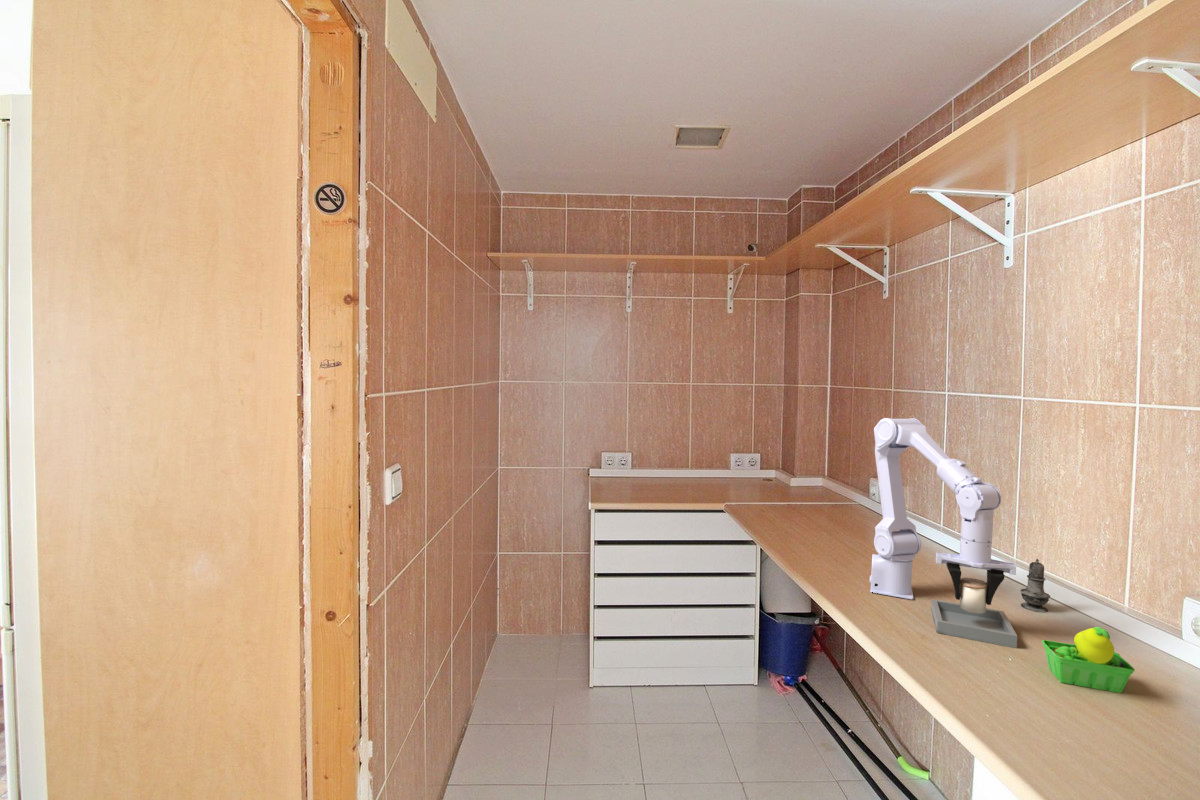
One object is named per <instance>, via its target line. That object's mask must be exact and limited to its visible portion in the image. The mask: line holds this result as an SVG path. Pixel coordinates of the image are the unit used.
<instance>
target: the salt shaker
mask: <svg viewBox="0 0 1200 800" xmlns="http://www.w3.org/2000/svg"><path fill="white" fill-rule="evenodd" d="M1039 561H1040V560H1039V558H1036V559H1035V561H1032V562H1030V563H1029V564H1028V565H1029V566H1028V575H1027V574H1026V578H1027V586H1026V587H1025V588H1021V589H1020V590H1019V592H1020V595H1021V597H1022V599H1023V601H1024V602H1021V603H1020V606H1021V607H1022V608H1023V609H1026V610H1028V611H1032V612H1036V613H1048V612H1049V609H1048V608H1047V607H1045V605H1046V604H1047V603H1048V602H1049V601H1050V599H1051V595H1050V594H1049V593H1047V592H1046V591H1045V587H1044V586H1045V585H1044V584H1045V583H1044V582H1045V581H1046V578H1045V566H1044V564H1042V563H1041V562H1039Z"/></svg>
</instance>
